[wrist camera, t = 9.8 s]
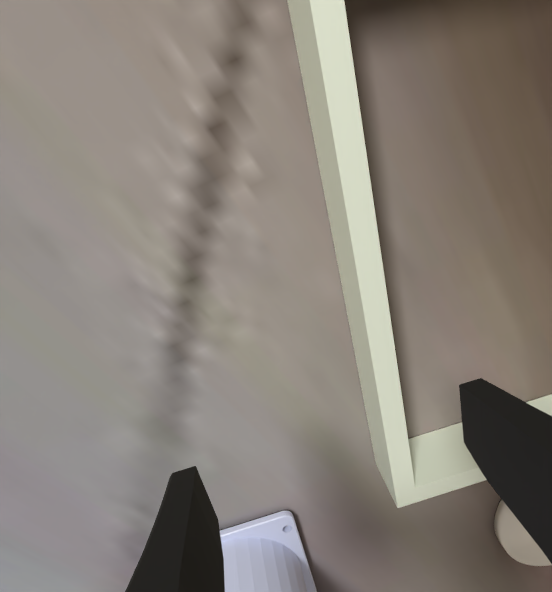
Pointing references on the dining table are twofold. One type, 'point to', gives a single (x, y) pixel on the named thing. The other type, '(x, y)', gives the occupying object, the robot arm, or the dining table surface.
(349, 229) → the rectangular frame
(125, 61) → the dining table surface
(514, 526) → the saucer
